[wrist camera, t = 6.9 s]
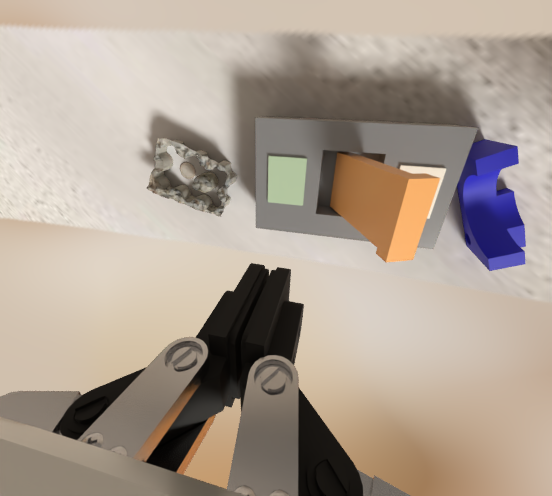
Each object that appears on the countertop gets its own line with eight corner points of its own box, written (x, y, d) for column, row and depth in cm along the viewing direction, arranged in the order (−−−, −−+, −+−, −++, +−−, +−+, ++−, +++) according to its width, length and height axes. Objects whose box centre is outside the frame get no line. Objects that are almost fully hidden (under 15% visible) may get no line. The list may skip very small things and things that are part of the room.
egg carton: (160, 181, 37) (142, 188, 34) (170, 129, 34) (150, 131, 30) (226, 214, 38) (214, 225, 34) (243, 166, 34) (232, 173, 30)
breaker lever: (355, 150, 28) (440, 178, 17) (345, 207, 31) (412, 259, 20) (334, 150, 27) (409, 179, 17) (326, 207, 30) (385, 262, 20)
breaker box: (456, 124, 27) (479, 128, 22) (420, 230, 32) (434, 250, 28) (267, 116, 30) (254, 117, 26) (265, 213, 36) (255, 228, 31)
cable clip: (510, 234, 31) (544, 260, 25) (465, 245, 32) (489, 270, 27) (501, 132, 26) (540, 138, 21) (450, 150, 28) (475, 160, 23)
